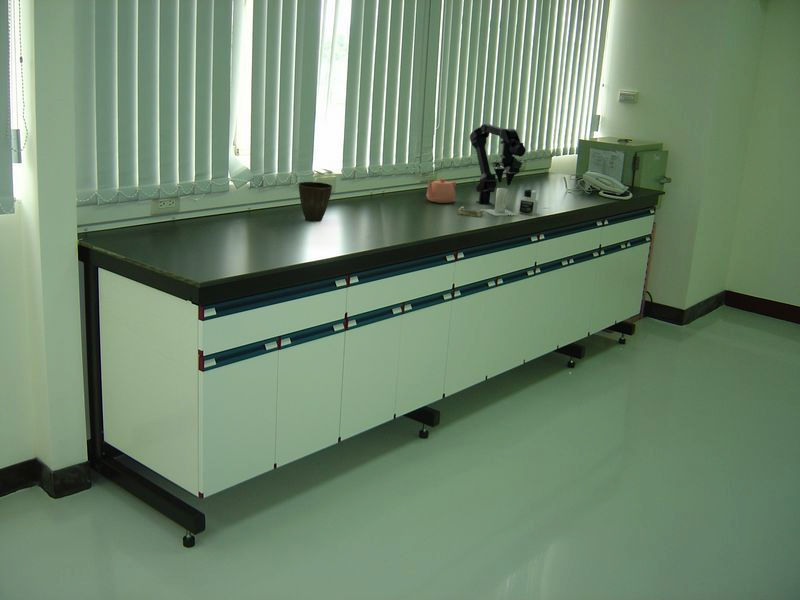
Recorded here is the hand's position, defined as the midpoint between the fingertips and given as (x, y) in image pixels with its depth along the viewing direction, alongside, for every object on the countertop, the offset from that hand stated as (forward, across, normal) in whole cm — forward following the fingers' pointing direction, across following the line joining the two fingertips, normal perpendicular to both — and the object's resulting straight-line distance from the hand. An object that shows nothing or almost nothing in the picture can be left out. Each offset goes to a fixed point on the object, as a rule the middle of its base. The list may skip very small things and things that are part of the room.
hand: (504, 183), depth 441 cm
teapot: (+13, +19, +27) cm, 36 cm away
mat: (+13, -11, +7) cm, 18 cm away
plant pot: (+13, -23, +109) cm, 112 cm away
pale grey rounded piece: (+13, -12, +7) cm, 19 cm away
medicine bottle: (+13, -12, -9) cm, 20 cm away
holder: (+13, -13, +25) cm, 31 cm away
